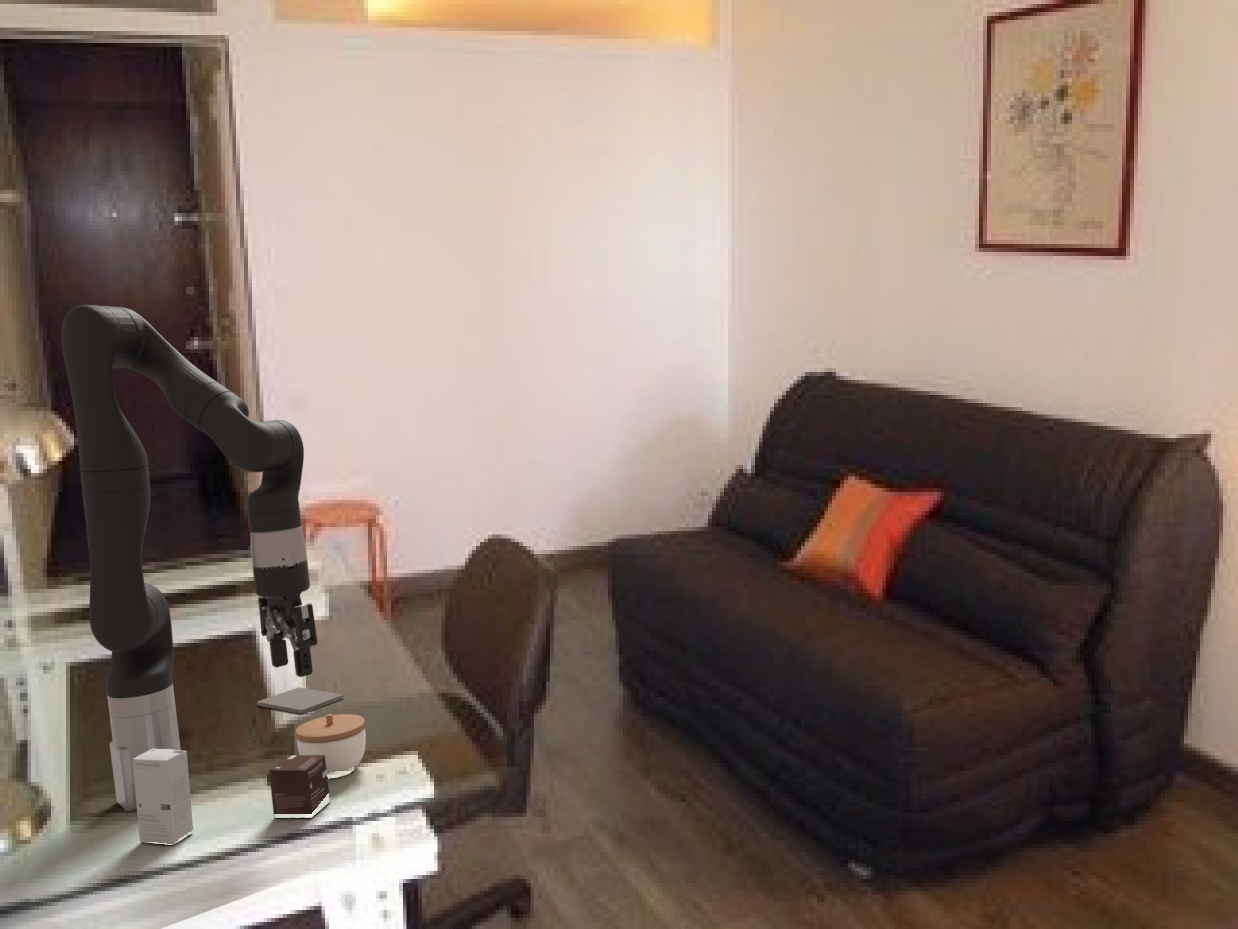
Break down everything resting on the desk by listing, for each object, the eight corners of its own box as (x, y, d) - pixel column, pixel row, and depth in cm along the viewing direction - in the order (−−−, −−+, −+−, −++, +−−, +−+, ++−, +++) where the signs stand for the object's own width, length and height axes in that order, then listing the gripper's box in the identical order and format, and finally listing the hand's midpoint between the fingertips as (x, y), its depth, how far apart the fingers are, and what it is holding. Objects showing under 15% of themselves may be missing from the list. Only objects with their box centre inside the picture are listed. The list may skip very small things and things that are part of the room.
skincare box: (138, 844, 147) (128, 759, 146) (161, 830, 151) (151, 747, 150) (175, 847, 145) (164, 760, 144) (197, 833, 149) (187, 749, 148)
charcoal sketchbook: (302, 714, 201) (301, 710, 201) (257, 705, 210) (256, 701, 210) (343, 698, 209) (343, 694, 209) (299, 691, 218) (298, 687, 218)
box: (311, 820, 150) (306, 770, 150) (272, 820, 151) (267, 770, 151) (331, 802, 156) (326, 754, 156) (294, 802, 157) (288, 754, 157)
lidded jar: (379, 758, 173) (373, 702, 173) (355, 784, 163) (349, 724, 162) (316, 761, 175) (310, 705, 174) (289, 787, 164) (282, 727, 163)
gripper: (235, 560, 155) (248, 669, 156) (273, 569, 144) (287, 685, 145) (285, 552, 160) (296, 657, 161) (325, 559, 149) (338, 672, 150)
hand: (292, 670), depth 153 cm, fingers open, 8 cm apart
